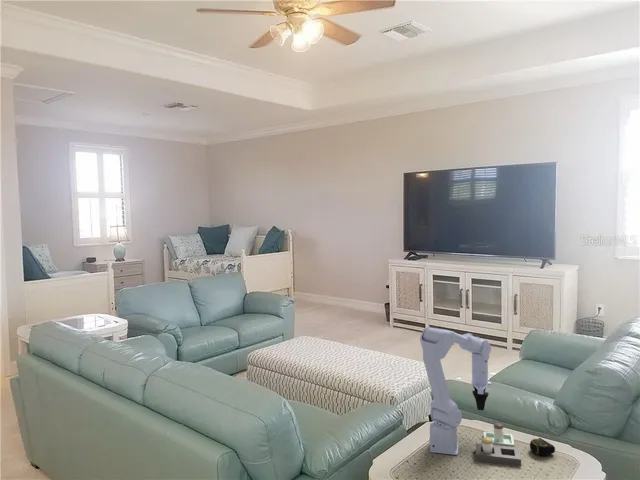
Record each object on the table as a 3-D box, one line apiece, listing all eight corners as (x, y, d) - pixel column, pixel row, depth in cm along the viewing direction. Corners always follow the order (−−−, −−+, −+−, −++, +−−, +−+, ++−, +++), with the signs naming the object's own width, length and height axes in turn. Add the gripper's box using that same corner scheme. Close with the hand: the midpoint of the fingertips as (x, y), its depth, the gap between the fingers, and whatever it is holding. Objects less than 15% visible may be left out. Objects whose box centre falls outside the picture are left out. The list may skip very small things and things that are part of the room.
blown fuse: (494, 442, 173) (493, 426, 173) (493, 438, 177) (493, 422, 176) (504, 443, 172) (503, 427, 172) (503, 439, 176) (502, 423, 175)
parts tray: (484, 446, 172) (484, 441, 172) (483, 435, 180) (483, 431, 180) (514, 449, 169) (514, 444, 169) (512, 438, 177) (512, 434, 177)
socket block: (476, 460, 162) (476, 454, 162) (475, 449, 170) (475, 443, 170) (521, 465, 158) (521, 459, 158) (518, 453, 166) (518, 447, 166)
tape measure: (556, 455, 164) (556, 445, 164) (539, 459, 162) (539, 448, 162) (541, 446, 171) (541, 436, 171) (525, 449, 169) (525, 439, 169)
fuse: (482, 458, 164) (482, 441, 164) (482, 453, 167) (482, 436, 167) (492, 459, 163) (492, 442, 163) (492, 454, 166) (492, 437, 166)
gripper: (492, 377, 173) (492, 414, 174) (490, 365, 187) (490, 399, 188) (471, 376, 175) (472, 412, 176) (471, 363, 189) (471, 397, 190)
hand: (480, 405), depth 182 cm, fingers open, 7 cm apart
